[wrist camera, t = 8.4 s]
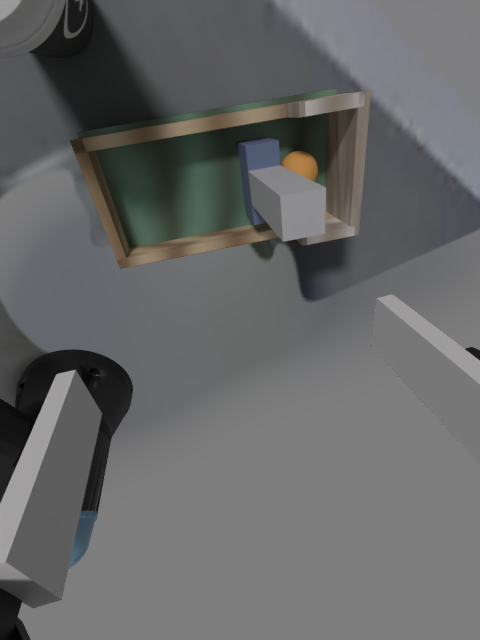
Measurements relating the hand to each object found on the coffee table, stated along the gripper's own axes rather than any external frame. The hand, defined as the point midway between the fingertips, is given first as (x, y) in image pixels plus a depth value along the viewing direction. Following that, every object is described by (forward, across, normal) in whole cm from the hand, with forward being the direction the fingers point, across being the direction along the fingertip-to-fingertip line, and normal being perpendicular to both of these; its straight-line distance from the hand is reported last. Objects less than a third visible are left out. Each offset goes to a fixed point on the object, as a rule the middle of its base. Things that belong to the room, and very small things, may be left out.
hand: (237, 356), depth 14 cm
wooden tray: (+26, -4, -3) cm, 27 cm away
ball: (+22, -11, -3) cm, 25 cm away
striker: (+24, -7, -3) cm, 26 cm away
